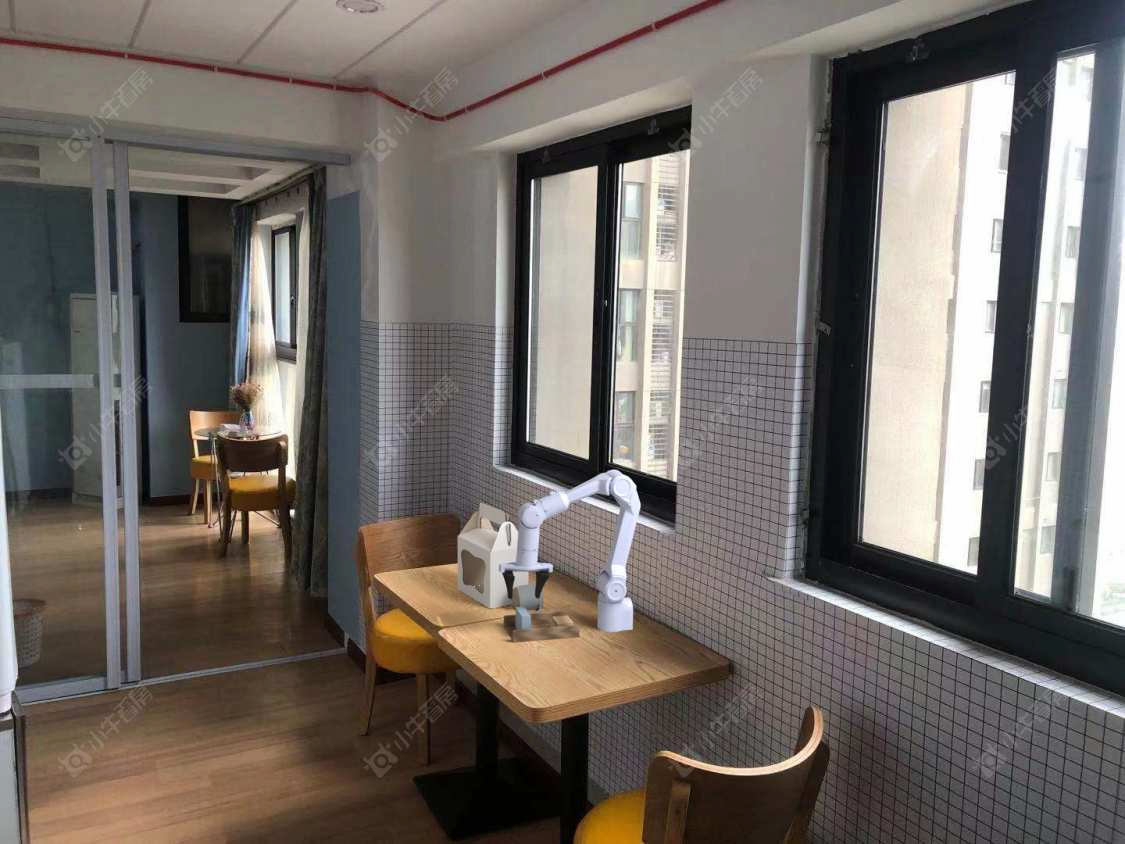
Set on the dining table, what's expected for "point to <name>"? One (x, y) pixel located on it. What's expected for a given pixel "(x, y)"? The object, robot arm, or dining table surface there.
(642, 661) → the dining table surface
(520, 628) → the block
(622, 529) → the robot arm
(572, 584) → the dining table surface
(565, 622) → the offcut top
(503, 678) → the dining table surface
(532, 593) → the ceramic mug
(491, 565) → the gable box
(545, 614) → the rack
